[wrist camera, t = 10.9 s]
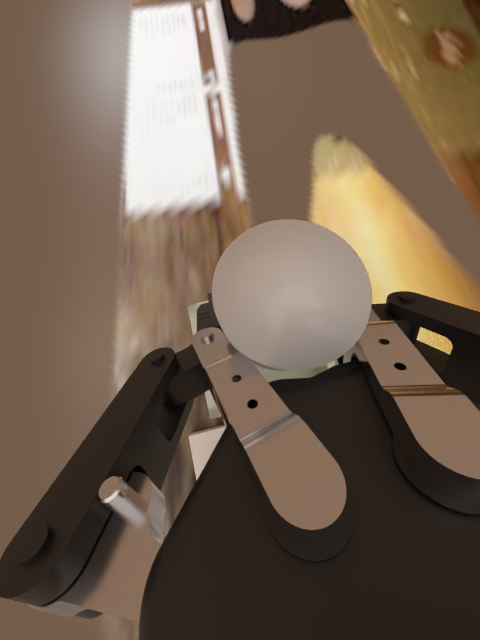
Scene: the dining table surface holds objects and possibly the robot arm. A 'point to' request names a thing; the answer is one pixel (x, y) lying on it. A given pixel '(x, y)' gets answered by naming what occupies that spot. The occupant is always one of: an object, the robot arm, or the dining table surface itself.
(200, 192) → the dining table surface
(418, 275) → the dining table surface
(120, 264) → the dining table surface
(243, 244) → the ball
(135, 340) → the dining table surface
